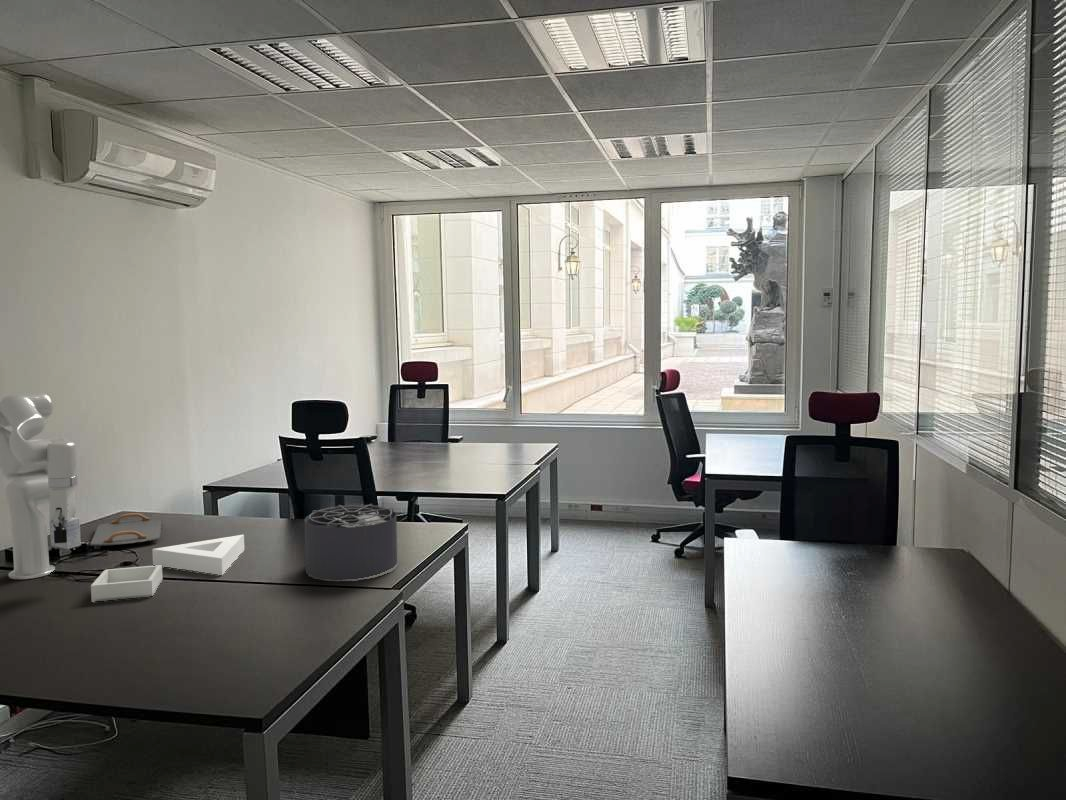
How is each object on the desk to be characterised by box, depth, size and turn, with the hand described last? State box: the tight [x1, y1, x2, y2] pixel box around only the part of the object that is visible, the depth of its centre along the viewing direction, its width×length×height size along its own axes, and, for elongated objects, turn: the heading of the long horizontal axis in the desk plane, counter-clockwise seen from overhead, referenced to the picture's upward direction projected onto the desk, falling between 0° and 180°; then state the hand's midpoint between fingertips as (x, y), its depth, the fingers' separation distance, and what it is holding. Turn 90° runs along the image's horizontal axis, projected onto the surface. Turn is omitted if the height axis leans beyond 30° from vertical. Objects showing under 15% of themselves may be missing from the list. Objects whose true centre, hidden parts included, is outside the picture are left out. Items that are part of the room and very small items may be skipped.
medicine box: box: [49, 516, 82, 550], centre depth 232 cm, size 8×4×9 cm, turn 65°
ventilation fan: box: [304, 503, 398, 580], centre depth 251 cm, size 30×18×30 cm
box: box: [90, 565, 164, 603], centre depth 230 cm, size 16×16×5 cm
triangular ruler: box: [151, 534, 245, 576], centre depth 262 cm, size 30×26×6 cm
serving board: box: [90, 512, 163, 549], centre depth 293 cm, size 39×23×6 cm, turn 25°
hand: (65, 538), depth 232 cm, fingers closed on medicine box, 8 cm apart
